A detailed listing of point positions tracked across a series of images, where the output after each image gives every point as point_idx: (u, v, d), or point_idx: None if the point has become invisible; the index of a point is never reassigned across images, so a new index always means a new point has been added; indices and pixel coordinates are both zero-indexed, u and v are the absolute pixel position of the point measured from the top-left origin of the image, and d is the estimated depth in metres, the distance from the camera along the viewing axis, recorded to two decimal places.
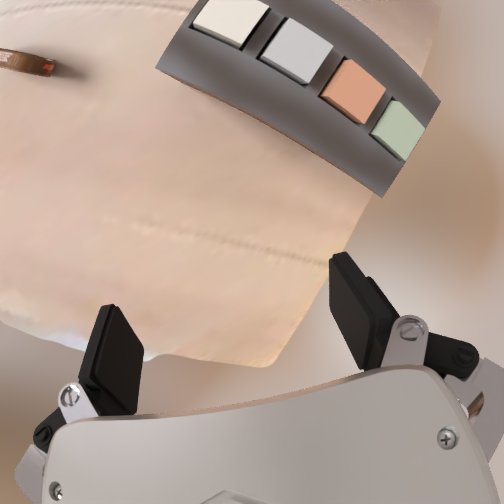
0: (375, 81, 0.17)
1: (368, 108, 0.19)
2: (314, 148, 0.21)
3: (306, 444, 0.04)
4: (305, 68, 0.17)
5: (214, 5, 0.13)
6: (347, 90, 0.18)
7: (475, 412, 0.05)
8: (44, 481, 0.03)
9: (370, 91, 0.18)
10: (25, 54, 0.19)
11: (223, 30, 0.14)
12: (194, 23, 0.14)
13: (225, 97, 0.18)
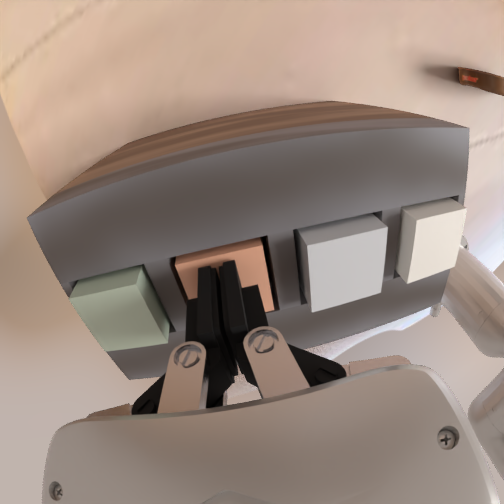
0: None
1: (192, 286, 0.12)
2: (196, 161, 0.10)
3: (306, 444, 0.04)
4: (326, 258, 0.12)
5: (454, 241, 0.12)
6: (243, 277, 0.13)
7: None
8: (44, 481, 0.03)
9: None
10: (501, 94, 0.19)
11: (439, 221, 0.12)
12: (463, 207, 0.12)
13: (387, 131, 0.10)
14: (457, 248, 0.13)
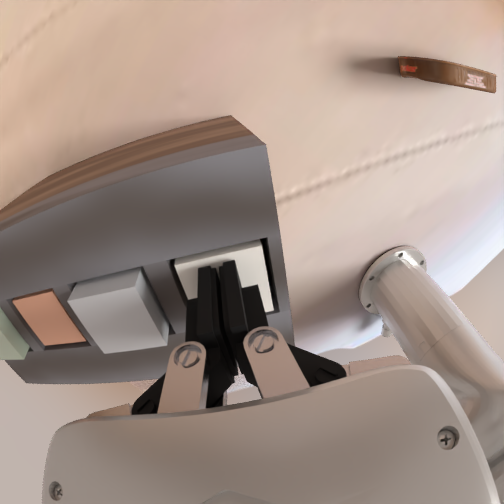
0: (54, 342, 0.14)
1: (27, 316, 0.12)
2: None
3: (306, 444, 0.04)
4: (88, 311, 0.11)
5: (256, 284, 0.13)
6: (51, 313, 0.13)
7: None
8: (44, 481, 0.03)
9: (44, 331, 0.13)
10: (449, 83, 0.18)
11: (213, 264, 0.12)
12: (258, 244, 0.12)
13: (118, 185, 0.10)
14: (267, 291, 0.13)
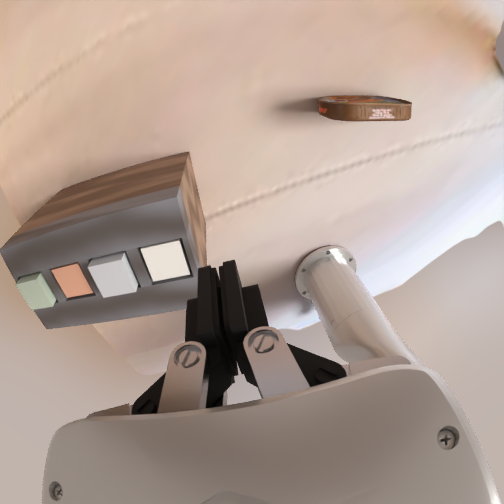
0: (73, 295, 0.26)
1: (59, 279, 0.25)
2: (48, 233, 0.22)
3: (306, 444, 0.04)
4: (97, 272, 0.24)
5: (178, 259, 0.26)
6: (75, 276, 0.25)
7: None
8: (44, 481, 0.03)
9: (68, 288, 0.25)
10: (352, 120, 0.32)
11: (157, 249, 0.25)
12: (178, 240, 0.25)
13: (115, 213, 0.22)
14: (185, 263, 0.26)
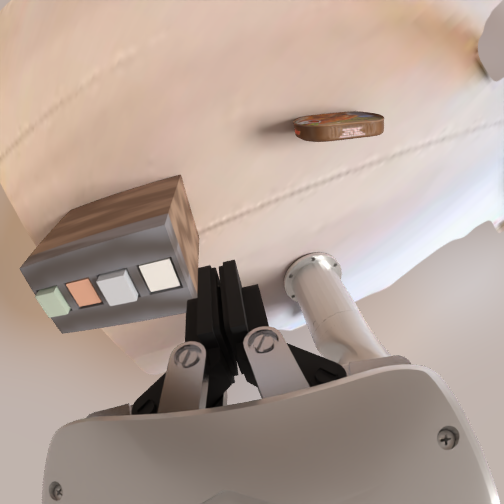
0: (85, 304, 0.32)
1: (72, 291, 0.30)
2: (62, 255, 0.27)
3: (306, 444, 0.04)
4: (104, 286, 0.29)
5: (170, 273, 0.31)
6: (86, 289, 0.30)
7: None
8: (44, 481, 0.03)
9: (81, 298, 0.31)
10: (323, 140, 0.36)
11: (152, 266, 0.30)
12: (168, 258, 0.30)
13: (116, 239, 0.28)
14: (175, 277, 0.31)
